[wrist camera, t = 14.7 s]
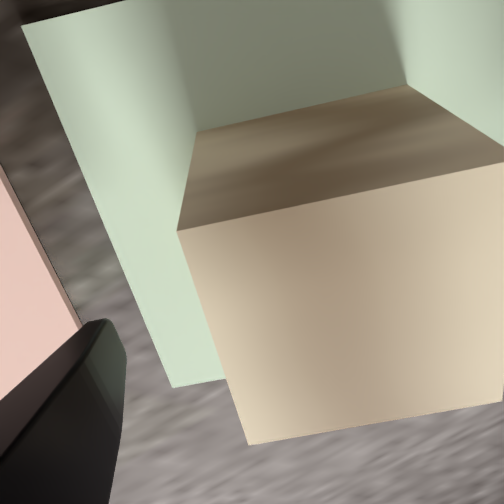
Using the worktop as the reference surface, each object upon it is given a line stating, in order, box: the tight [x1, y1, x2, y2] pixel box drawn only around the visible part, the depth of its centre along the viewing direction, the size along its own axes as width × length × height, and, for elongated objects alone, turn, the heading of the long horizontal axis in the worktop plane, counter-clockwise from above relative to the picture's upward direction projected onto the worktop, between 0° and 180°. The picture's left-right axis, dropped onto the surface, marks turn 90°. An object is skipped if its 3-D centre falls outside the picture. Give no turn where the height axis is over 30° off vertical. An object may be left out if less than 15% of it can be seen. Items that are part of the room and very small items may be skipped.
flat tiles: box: [0, 0, 504, 400], centre depth 13 cm, size 24×11×1 cm, turn 102°
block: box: [176, 84, 504, 445], centre depth 10 cm, size 5×5×5 cm
